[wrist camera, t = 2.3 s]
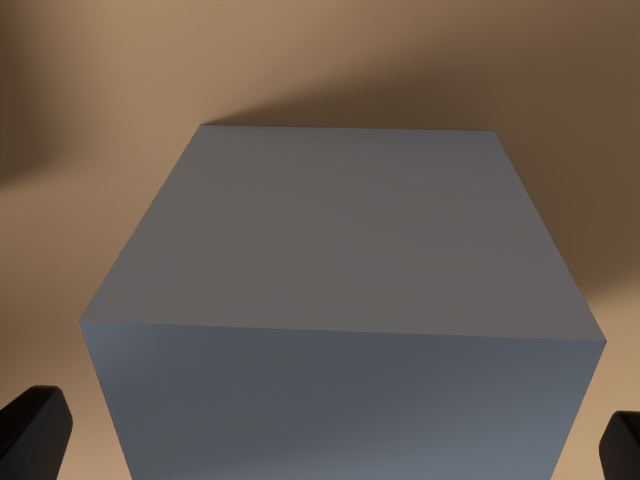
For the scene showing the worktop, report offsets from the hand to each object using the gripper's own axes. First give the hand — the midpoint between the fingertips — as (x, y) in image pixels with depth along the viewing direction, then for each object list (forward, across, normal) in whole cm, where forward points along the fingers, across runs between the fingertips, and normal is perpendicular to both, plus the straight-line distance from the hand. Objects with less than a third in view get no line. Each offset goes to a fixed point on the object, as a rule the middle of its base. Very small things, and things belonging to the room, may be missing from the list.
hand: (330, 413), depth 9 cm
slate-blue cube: (+5, 0, 0) cm, 5 cm away
